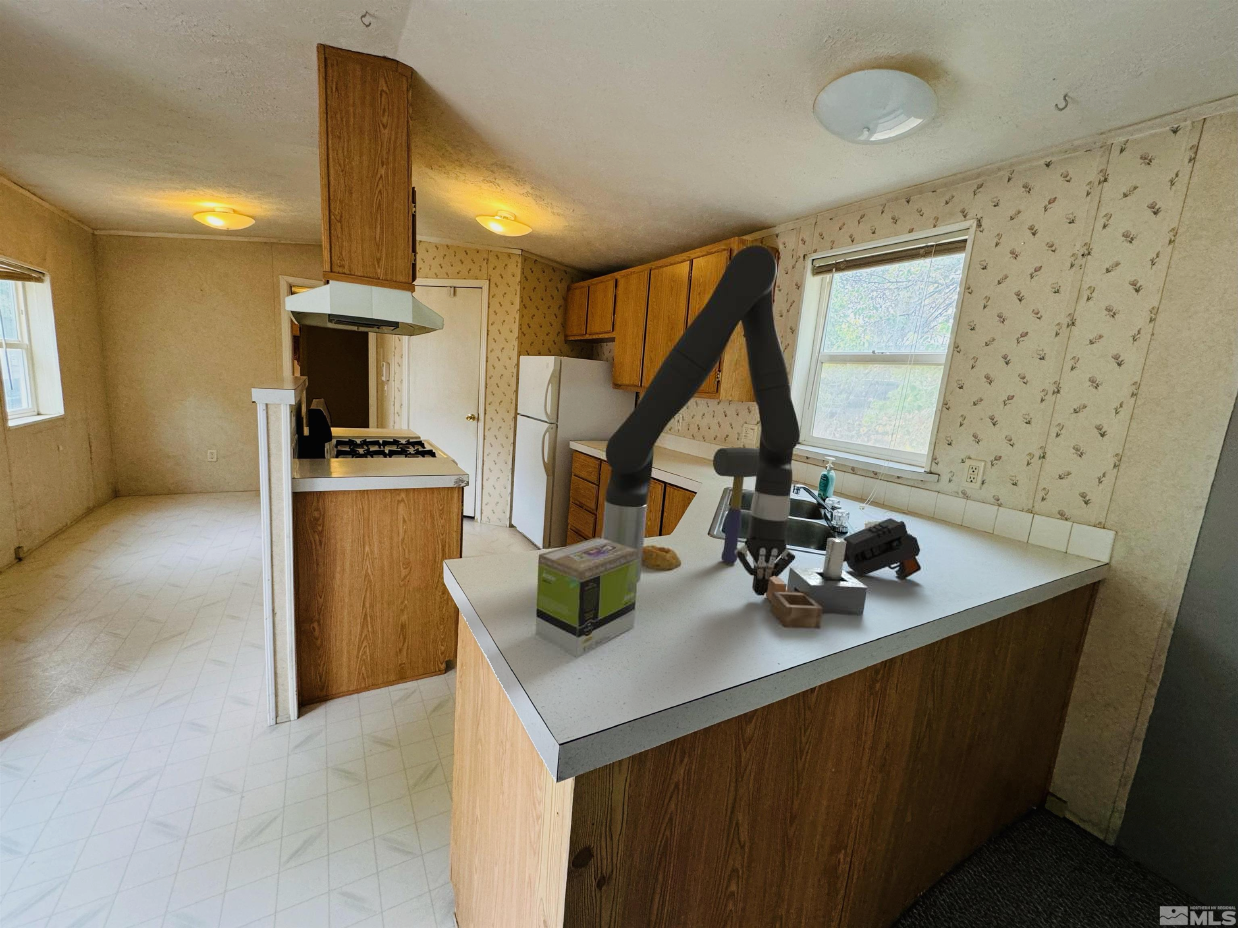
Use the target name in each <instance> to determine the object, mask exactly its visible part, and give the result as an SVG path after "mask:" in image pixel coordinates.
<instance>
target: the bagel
mask: <svg viewBox="0 0 1238 928" xmlns="http://www.w3.org/2000/svg"><path fill="white" fill-rule="evenodd" d="M642 566H644V567H646V568H649V569H653V570H658V571H659V570H660V571H661V570H662V571H663V570H665V571H666V570H669V571H670V570H674V569H675V568H678V567H681V566H682V561H681V559H680V557H679V555H678V554H677V552H675V550H673V549H671V548H669V547H664V546H657V545H654V544H650V545H643V556H642Z"/></svg>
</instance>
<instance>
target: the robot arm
mask: <svg viewBox="0 0 1238 928" xmlns="http://www.w3.org/2000/svg"><path fill="white" fill-rule="evenodd" d="M777 269H778V267H777V261H776V258H775V256H774V254H773V252H772V251H771V250H770V249H768V248H767V247H766V246H763V245H759V244H754V245H748V246H746V247H743V248H742V249H740V250H739V251H738V252H736V253H735V254H734V255H733V256H732V258H731V259H730V260H729V262H728V264H727V265H726V268H725V270H724V272H723V274H722V275H721V276H720V277H721V278H720V279H719V281H718V283H717V284H716V286H715V288H714V290H713V292H712V293H711V296H709V299H708V300H707V302H706V303H705V305H704V307H702V309H701V310H700V311H699V312H698V314H697V315H696V316H695V318H694V319H693V320H692V321H691V322H690V324H689V325H688V327H687V328H686V329H685V331H683V334H682V335H680V338H678V340H677V341H676V342H675V344H674V345H673V347H672V348H671V350H670V351H669V352H668V354H667V355H666V357H665V358H664V360H663V361H662V363H661V364H660V366H659V368H658V369H657V371H656V372H655V374H654V376H653V378H652V379H651V381H650V383H649V384H648V385H647V388H646V390H645V392H644V393H643V395H642V397H641V398H640V401H639V402H638V404H637V405H636V407H635V408H633V410H632V412H631V413H630V414H629V415H628V417H626V419H625V420H624V422H623V423H621V425H620V426H619V427H618V428H617V430H616V431H615V432H614V433H613V434H612V435H611V437H609V439H608V441H607V443H606V446H605V459H606V462H607V464H608V466H609V467H610V468H611V469H610V476H609V481H608V483H607V487H606V489H605V498H604V513H603V522H602V523H603V524H602V525H603V526H602V530H601V539H604V540H608V541H611V542H614V543H617V544H620V545H624V546H627V547H630V548H634V549H637V550H639V553H638V571H637V583H638V582H640V580H641V576H642V568H643V567H642V566H643V565H642V556H643V547H644V546H645V545H644V543H645V542H644V541H645V533H646V532H645V531H646V521H647V520H646V519H647V509H648V500H649V499H648V498H649V493H650V490H651V483H652V474H653V467H654V466H653V464H654V452H655V450H654V447H655V445H656V443H657V441H658V439H659V438H660V436H661V434H662V433H663V432H664V430H665V429H666V427H667V426H668V424H669V423H670V422H671V421H672V420H673V418H675V417H676V416H677V415H678V414H679V413H680V412H681V411H682V410H683V409H684V407H685V406H686V405H687V404H688V403H689V402H690V401H691V400H692V399H693V397H694V396H695V395H696V394H697V393H698V391H699V390H700V389H701V388H702V386H703V385H704V383H705V382H706V381H707V379H708V377H709V376H710V374H712V372H713V370H714V368H715V367H716V365H718V362H719V361H720V359H721V357H722V355H723V353H724V351H725V350H726V348H727V345H728V344H729V341H730V340H731V337H732V335H733V333H734V332H735V329H736V328H737V326H738V325H739V324H740V322H741V325H742V328H743V329H742V330H743V335H744V341H745V345H746V346H745V348H746V354H747V363H748V369H749V376H750V377H749V378H750V382H751V386H752V392H753V397H754V401H755V403H756V405H757V408H758V415H759V421H760V436H759V448H758V449H759V465H758V470H757V475H756V476H755V484H754V491H753V496H752V500H751V506H750V508H749V509H750V516H749V522H748V531H747V538H746V540H745V542H744V545H743V546H741V547H739V548H738V547H737V548H735V549H734V553H735V554H736V556H737V560H739V562H740V563H741V565H742V566H743V568H744V570H745V571H746V572H747V573H748V575H750V576H752V577H753V579H752V586H751V587H752V591H753V592H754V593H755V595H756V596H763V597H764V596H766V593H767V591H768V584H769V579H770V578H771V577H779V576H780V575H781V574H782V572H784V571H785V570H786V569H787V568H788V567H789V566H790V565H791V563H793V562H794V561H795V559H796V555H795V554H794V553H793V552H791V551H790V550H788V547H787V543H786V538H787V533H788V524H789V519H790V517H789V516H790V509H791V491H792V486H793V485H792V484H793V467H792V461H793V454H794V453H793V452H794V449H795V448H796V446H798V444H799V441H800V436H801V435H800V434H801V431H800V425H799V422H798V418H797V414H796V410H795V406H794V403H793V400H792V394H791V384H790V379H789V374H788V367H787V363H786V358H785V356H784V352H783V347H782V345H781V340H780V338H779V335H778V331H777V326H776V323H775V315H774V304H773V301H774V300H773V297H774V296H773V291H774V289H773V286H774V284H775V282H776V278H777V273H778V272H777V271H778V270H777ZM748 553H749V554H748ZM748 555H750V556H751V558H752V564H753V567H752V565H751V563H750V562H749V561H748V559H747V557H748Z"/></svg>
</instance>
